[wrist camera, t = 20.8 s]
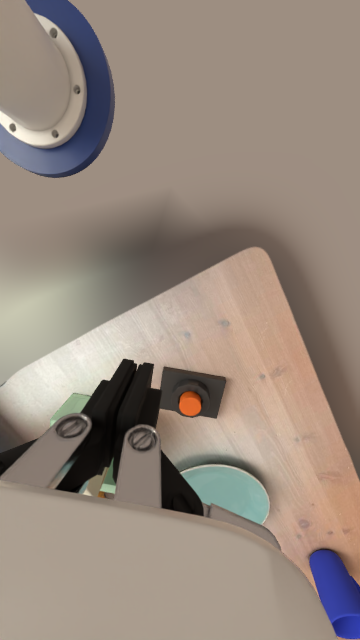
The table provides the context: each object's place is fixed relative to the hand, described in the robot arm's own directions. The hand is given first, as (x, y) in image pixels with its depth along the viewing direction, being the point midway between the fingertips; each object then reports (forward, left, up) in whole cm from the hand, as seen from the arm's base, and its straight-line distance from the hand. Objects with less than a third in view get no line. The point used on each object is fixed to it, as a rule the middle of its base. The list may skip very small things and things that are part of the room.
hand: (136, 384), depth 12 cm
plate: (+14, -41, -25) cm, 50 cm away
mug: (+44, -55, -25) cm, 74 cm away
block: (+5, -17, -24) cm, 30 cm away
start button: (+5, -17, -22) cm, 28 cm away
